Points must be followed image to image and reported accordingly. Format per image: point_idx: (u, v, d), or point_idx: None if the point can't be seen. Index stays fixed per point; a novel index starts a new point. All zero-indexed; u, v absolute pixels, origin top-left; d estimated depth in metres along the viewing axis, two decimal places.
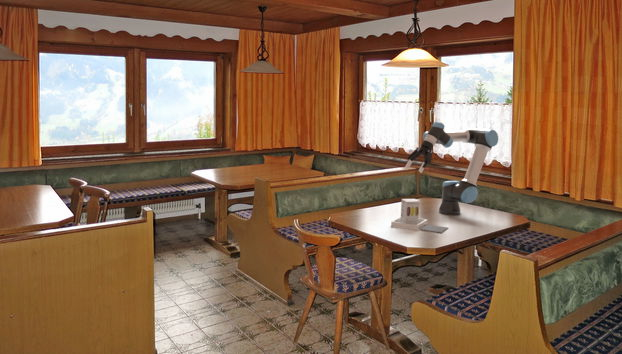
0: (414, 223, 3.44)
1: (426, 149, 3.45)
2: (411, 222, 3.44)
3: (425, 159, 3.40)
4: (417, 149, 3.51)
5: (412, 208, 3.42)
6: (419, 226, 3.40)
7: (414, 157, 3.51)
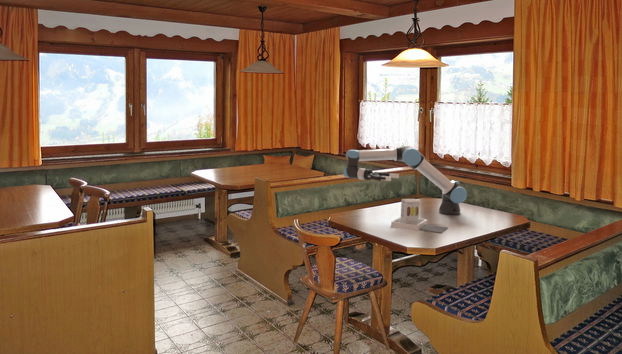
0: (414, 223, 3.44)
1: None
2: (411, 222, 3.44)
3: None
4: None
5: (412, 208, 3.42)
6: (419, 226, 3.40)
7: (385, 175, 3.59)
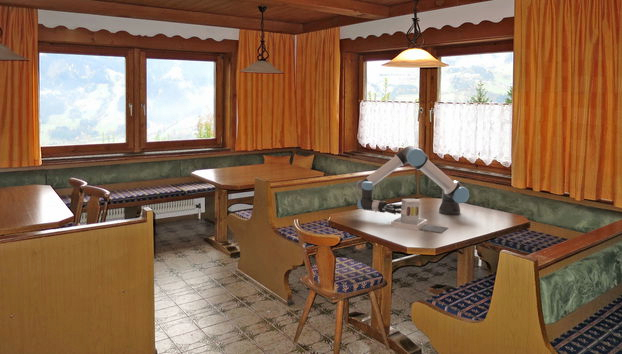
0: (414, 223, 3.44)
1: None
2: (411, 222, 3.44)
3: None
4: None
5: (412, 208, 3.42)
6: (419, 226, 3.40)
7: (399, 207, 3.56)
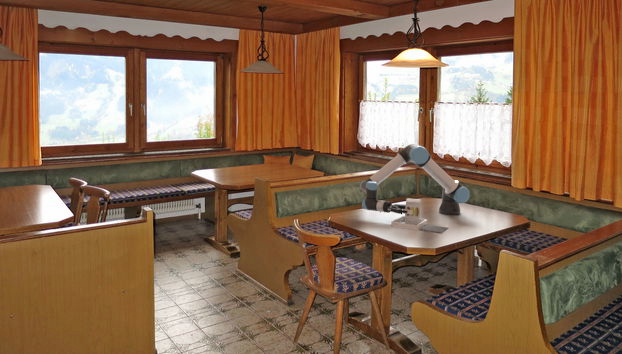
0: (414, 223, 3.43)
1: None
2: (411, 223, 3.44)
3: None
4: None
5: (412, 208, 3.42)
6: (419, 226, 3.40)
7: (404, 207, 3.54)
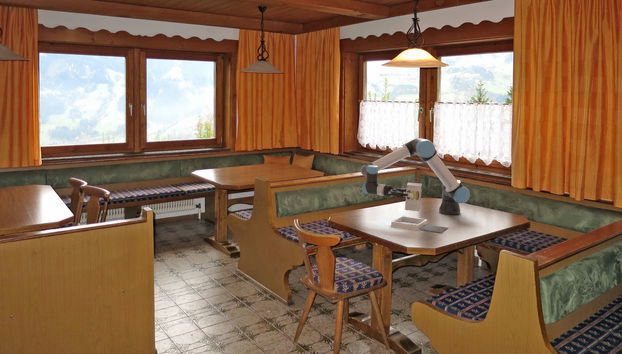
0: (414, 207, 3.41)
1: None
2: (411, 206, 3.41)
3: None
4: None
5: (413, 192, 3.40)
6: (419, 226, 3.40)
7: (405, 191, 3.52)
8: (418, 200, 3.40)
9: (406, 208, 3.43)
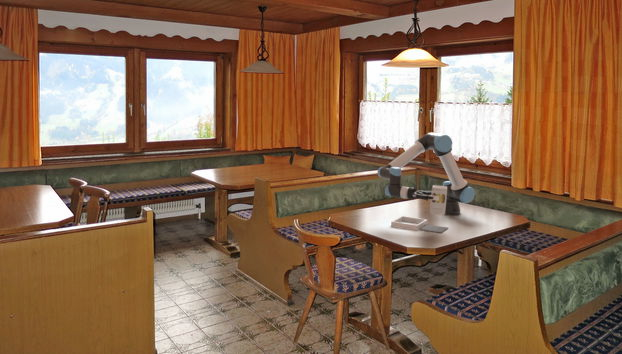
0: (440, 211, 3.31)
1: None
2: (437, 210, 3.32)
3: None
4: None
5: (438, 195, 3.30)
6: (419, 226, 3.40)
7: (429, 194, 3.42)
8: (444, 203, 3.30)
9: (431, 211, 3.33)
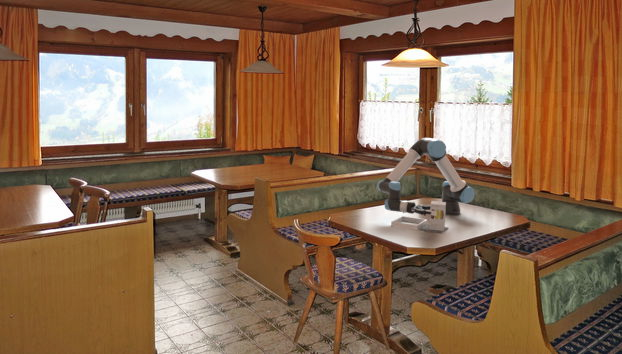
0: (439, 227, 3.33)
1: None
2: (436, 226, 3.34)
3: None
4: None
5: (437, 211, 3.32)
6: (419, 226, 3.40)
7: (428, 208, 3.45)
8: (442, 219, 3.32)
9: (430, 227, 3.35)
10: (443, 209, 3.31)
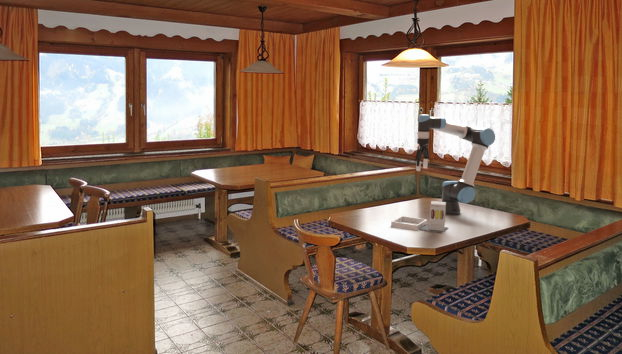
0: (439, 227, 3.33)
1: None
2: (436, 226, 3.34)
3: None
4: None
5: (437, 211, 3.32)
6: (419, 226, 3.40)
7: (425, 155, 3.59)
8: (442, 219, 3.32)
9: (430, 228, 3.35)
10: (443, 209, 3.31)
